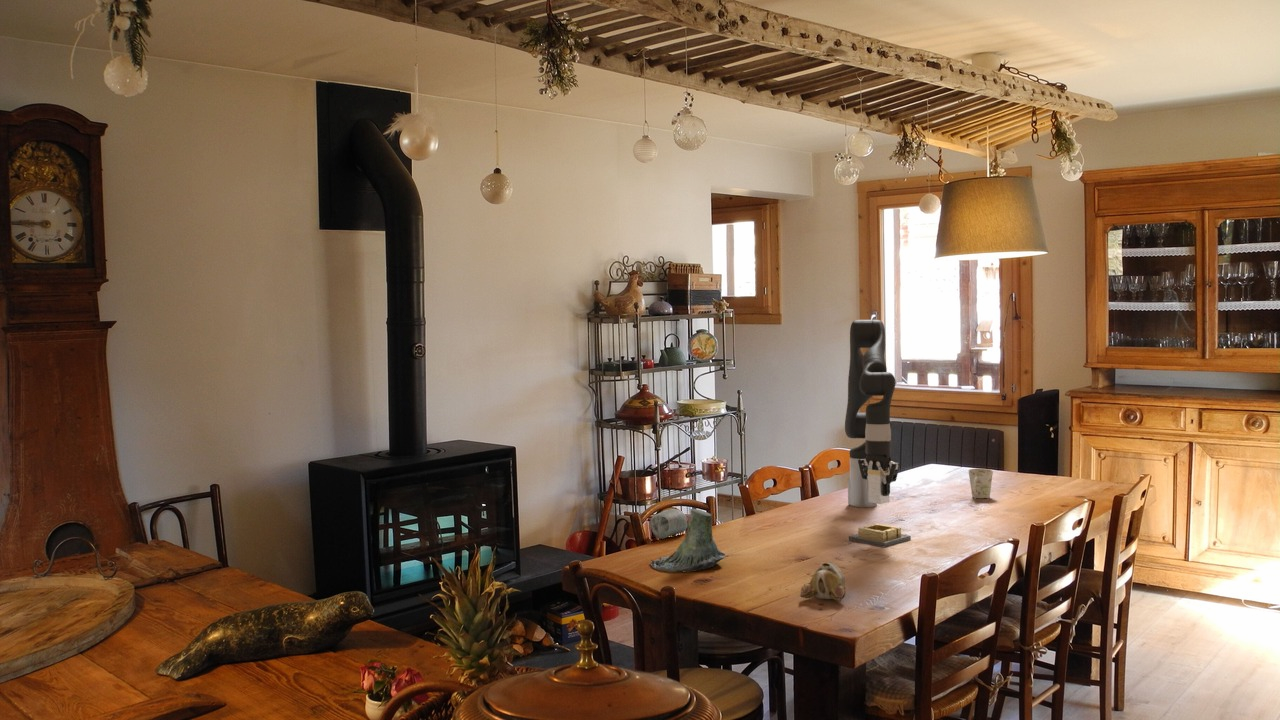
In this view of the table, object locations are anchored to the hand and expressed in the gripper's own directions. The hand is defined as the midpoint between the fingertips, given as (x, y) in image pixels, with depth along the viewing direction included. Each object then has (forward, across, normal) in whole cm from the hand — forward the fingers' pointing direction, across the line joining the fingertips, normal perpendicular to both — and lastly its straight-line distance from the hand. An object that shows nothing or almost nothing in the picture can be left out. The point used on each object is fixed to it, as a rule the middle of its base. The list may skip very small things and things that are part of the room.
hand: (879, 494), depth 294 cm
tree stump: (+14, -21, -60) cm, 65 cm away
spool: (+14, -51, -40) cm, 66 cm away
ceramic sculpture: (+14, +27, -58) cm, 66 cm away
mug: (+14, -13, +78) cm, 80 cm away
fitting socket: (+14, 0, 0) cm, 14 cm away
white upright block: (+2, 0, 0) cm, 2 cm away
